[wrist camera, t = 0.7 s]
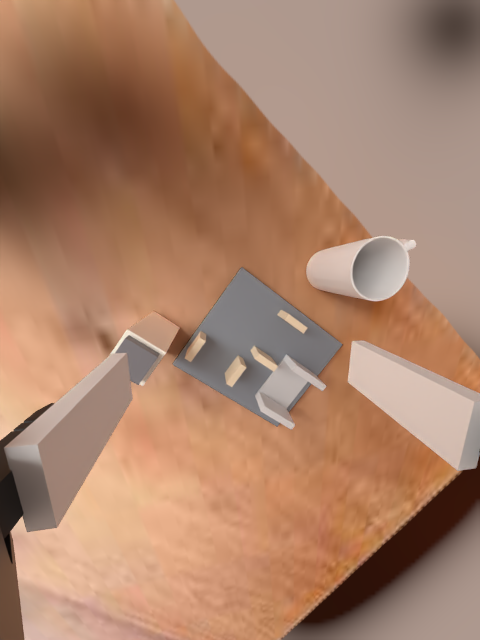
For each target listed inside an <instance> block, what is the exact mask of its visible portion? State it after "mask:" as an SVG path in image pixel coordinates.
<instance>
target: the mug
mask: <svg viewBox="0 0 480 640" xmlns="http://www.w3.org/2000/svg"><path fill="white" fill-rule="evenodd" d="M415 247H416V242H415V241H414V240H406V239H398V240H397V239H395V238H393V237H390V236H378V237H375V238H370V239H365V240H361V241H356V242H352V243H348V244H344V245H340V246H336V247H332V248H328V249H324V250H321V251H318V252H317V253H315V254H314V255H313V256H312V257H311V258H310V260H309V262H308V264H307V268H306V275H307V279H308V281H309V283H310V284H311V285H312V286H313V287H314V288H316V289H319V290H323V291H326V292H331V293H336V294H340V295H345V296H350V297H354V298H359V299H365V300H369V301H382V300H385V299H388V298H390V297H391V296H393V295H394V294H396V293H397V292H398V291H399V290H400V289H401V287H402V286H403V284H404V283H405V281H406V279H407V276H408V272H409V267H410V261H409V255H408V251H410V250H412V249H413V248H415Z"/></svg>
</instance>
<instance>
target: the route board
mask: <svg viewBox="0 0 480 640" xmlns="http://www.w3.org/2000/svg"><path fill="white" fill-rule="evenodd" d="M342 345H343V344H341V343H340V342H339V341H338V340H336V339H335V338H334V337H332V336H331V335H330V334H328V333H327V332H326V331H324V330H323V329H322V328H321V327H319V326H318V325H317V324H315V323H314V322H313V321H311V320H310V319H309V318H307V317H306V316H305V315H304V314H302V313H301V312H300V311H298V310H297V309H296V308H294V307H293V306H292V305H290V304H289V303H288V302H287V301H285V300H284V299H283V298H281V297H280V296H279V295H277V294H276V293H275V292H274V291H272V290H271V289H270V288H268V287H267V286H266V285H264V284H263V283H262V282H260V281H259V280H258V279H257V278H255V277H254V276H253V275H251V274H250V273H249V272H247V271H246V270H245V269H243V268H242V267H241V268H240V270H239V271H238V273H237V274H236V275H235V277H234V278H233V280H232V281H231V282H230V284H229V285H228V287H227V288H226V289H225V291H224V292H223V294H222V295H221V296H220V298H219V299H218V301H217V302H216V303H215V305H214V306H213V308H212V309H211V310H210V312H209V313H208V315H207V316H206V317H205V319H204V320H203V322H202V323H201V324H200V326H199V327H198V329H197V330H196V331H195V333H194V334H193V336H192V337H191V338H190V340H189V341H188V343H187V344H186V345H185V347H184V348H183V350H182V351H181V352H180V354H179V355H178V357H177V358H176V359H175V361H174V362H173V365H174V366H176V367H178V368H179V369H181V370H183V371H184V372H186V373H188V374H189V375H191V376H193V377H195V378H196V379H198V380H200V381H201V382H203V383H205V384H206V385H208V386H210V387H211V388H213V389H215V390H216V391H218V392H220V393H221V394H223V395H225V396H226V397H228V398H230V399H232V400H233V401H235V402H237V403H238V404H240V405H242V406H243V407H245V408H247V409H248V410H250V411H252V412H253V413H255V414H257V415H258V416H260V417H262V418H263V419H265V420H267V421H269V422H270V423H272V424H274V425H275V426H278V425H279V424H280V423H281V424H283V425H284V426H286V427H287V428H289V429H291V430H292V429H293V427H294V426H295V423H294V421H293V420H292V418H291V416H290V414H289V411H290V410H291V409H292V408H293V406H294V405H295V404H296V403H297V401H298V400H299V399H300V398H301V396H302V395H303V394H304V392H305V391H306V390H307V389H308V387H309V386H310V385H311V384H313V385H314V386H316V387H317V388H318V389H320V390H321V391H323V390H324V389H325V388H326V385H325V384H324V383H323V382H322V381H321V380H320V379H319V378H318V377H317V376H318V375H319V374H320V372H321V371H322V370H323V369H324V367H325V366H326V365H327V364H328V362H329V361H330V360H331V359H332V357H333V356H334V355H335V353H336V352H337V351H338V350H339V348H340V347H341V346H342Z"/></svg>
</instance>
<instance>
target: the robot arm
mask: <svg viewBox="0 0 480 640" xmlns="http://www.w3.org/2000/svg"><path fill="white" fill-rule="evenodd" d="M348 383H350V384H351V385H352V386H353V387H355V388H356V389H357V390H358V391H359V392H361V393H362V394H363V395H364V396H366V397H367V398H368V399H369V400H371V401H372V402H373V403H374V404H376V405H377V406H378V407H379V408H381V409H382V410H383V411H384V412H385V413H387V414H388V415H389V416H390V417H392V418H393V419H394V420H395V421H397V422H398V423H399V424H400V425H402V426H403V427H404V428H405V429H407V430H408V431H409V432H410V433H412V434H413V435H414V436H415V437H416V438H418V439H419V440H420V441H421V442H423V443H424V444H425V445H426V446H428V447H429V448H430V449H431V450H433V451H434V452H435V453H436V454H438V455H439V456H440V457H441V458H442V459H444V460H445V461H446V462H447V463H449V464H450V465H451V466H452V467H454V468H455V469H456V470H457V471H460V470H466V469H473V468H476V466H477V462H478V458H479V455H480V393H478V392H475V391H473V390H471V389H469V388H467V387H464V386H462V385H460V384H458V383H456V382H453V381H451V380H449V379H447V378H445V377H443V376H440V375H438V374H436V373H434V372H432V371H429V370H427V369H425V368H423V367H421V366H418V365H416V364H414V363H412V362H410V361H408V360H405V359H403V358H401V357H399V356H397V355H394V354H392V353H390V352H388V351H386V350H383V349H381V348H379V347H377V346H375V345H372V344H370V343H368V342H366V341H364V340H362V341H352V347H351V356H350V366H349V375H348ZM132 399H133V398H132V390H131V382H130V374H129V365H128V357H127V353H114V354H111V355H110V356H109V357H107V358H106V359H105V360H104V361H103V362H102V363H101V364H99V365H98V366H97V367H96V368H95V369H94V370H92V371H91V372H90V373H89V374H88V375H87V376H86V377H84V378H83V379H82V380H81V381H80V382H79V383H78V384H76V385H75V386H74V387H73V388H72V389H71V390H70V391H68V392H67V393H66V394H65V395H64V396H63V397H62V398H60V399H59V400H58V401H57V402H56V403H51V404H49V405H47V406H45V407H43V408H42V409H40V410H38V411H36V412H35V413H33V414H32V415H31V416H30V417H29V418H27V419H26V420H25V421H24V423H21V424H20V425H19V426H18V427H16V428H15V429H14V431H13V432H10V433H9V434H8V435H7V436H6V437H4V438H3V439H2V440H1V441H0V640H24V632H23V624H22V615H21V606H20V597H19V589H18V580H17V571H16V562H15V554H14V545H13V539H12V536H11V532H10V531H11V530H12V529H13V527H14V526H15V525H16V523H17V522H18V521H19V519H20V518H21V517H22V516H23V519H24V523H25V527H26V530H27V532H31V531H38V530H45V529H52V528H57V527H58V525H59V524H60V522H61V520H62V518H63V517H64V515H65V513H66V512H67V510H68V508H69V506H70V505H71V503H72V501H73V500H74V498H75V496H76V495H77V493H78V491H79V489H80V488H81V486H82V484H83V483H84V481H85V479H86V477H87V476H88V474H89V472H90V471H91V469H92V467H93V465H94V464H95V462H96V460H97V459H98V457H99V455H100V454H101V452H102V450H103V448H104V447H105V445H106V443H107V442H108V440H109V438H110V436H111V435H112V433H113V431H114V430H115V428H116V426H117V425H118V423H119V421H120V419H121V418H122V416H123V414H124V413H125V411H126V409H127V407H128V406H129V404H130V402H131V401H132Z"/></svg>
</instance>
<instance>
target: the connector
mask: <svg viewBox="0 0 480 640" xmlns="http://www.w3.org/2000/svg"><path fill="white" fill-rule="evenodd" d="M179 328H180V327H178V326H177V325H175V324H174V323H172V322H171V321H169V320H167V319H166V318H164V317H163V316H161V315H160V314H158V313H157V312H155V311H153V312H151V313H150V314H148V315H147V316H146V317H144V318H143V319H141V320H140V321H138V322H137V323H135V324H134V325H133V326H131V327H130V328H128V329H127V330H126V332H125V333H124V335H123V336H122V338H121V339H120V341H119V342H118V344H117V345H116V347H115V348H114V349H113V351H112V352H111V354H114V353H127V357H128V365H129V374H130V381H132V382H134V383H136V384H137V385H139V384H140V385H142V386H143V385H144V384H145V382H146V381H147V379H148V378H149V376H150V375H151V374H152V372H153V371H154V369H155V368H156V367H157V365H158V364H159V362H160V361H161V359H162V358H163V357H164V355H165V354H166V352H167V350H168V349H169V347H170V345H171V343H172V341H173V339H174V338H175V336H176V334H177V332H178V330H179ZM111 354H110V355H111ZM110 355H109V356H110Z"/></svg>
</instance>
